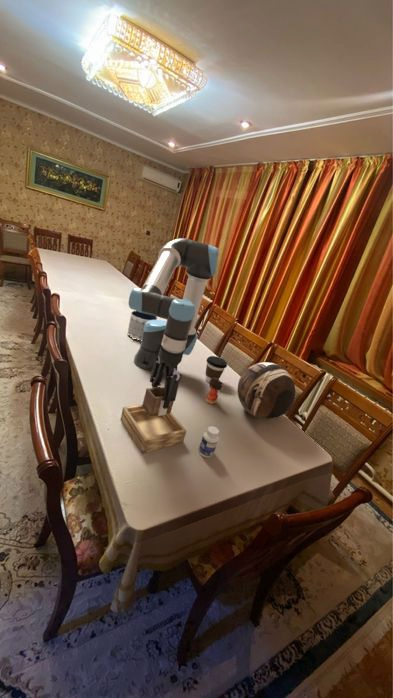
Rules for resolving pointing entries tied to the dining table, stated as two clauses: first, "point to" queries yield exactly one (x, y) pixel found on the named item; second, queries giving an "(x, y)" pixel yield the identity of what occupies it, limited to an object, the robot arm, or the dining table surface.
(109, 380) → the dining table surface
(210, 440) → the pill bottle
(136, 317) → the planter
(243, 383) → the sphere
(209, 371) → the coffee cup
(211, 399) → the figurine
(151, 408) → the walnut crate
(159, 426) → the oak crate
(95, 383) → the dining table surface
